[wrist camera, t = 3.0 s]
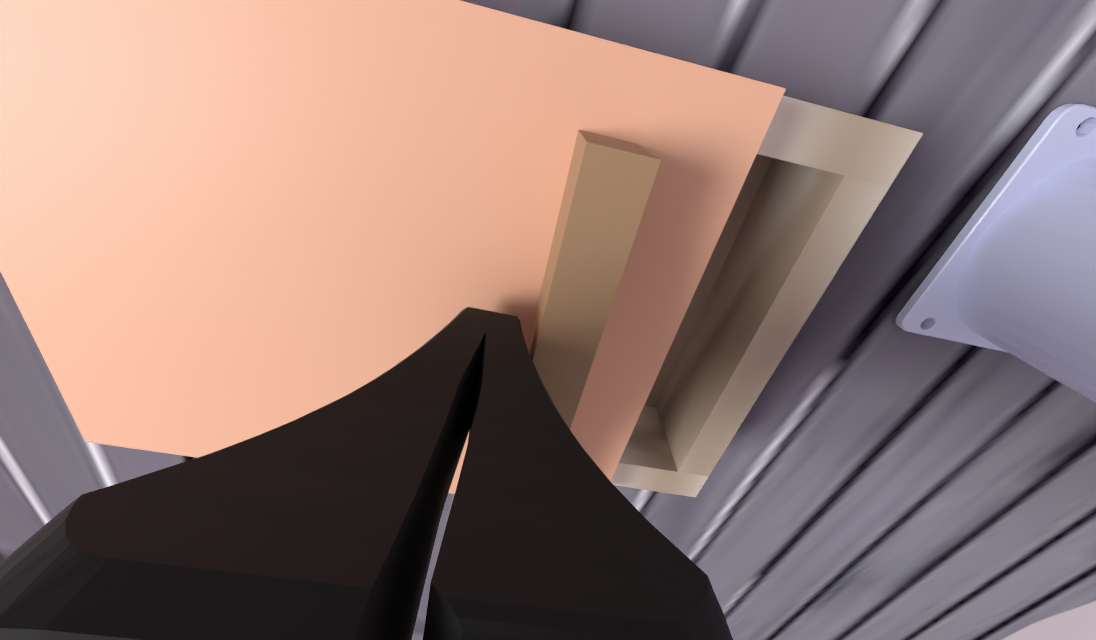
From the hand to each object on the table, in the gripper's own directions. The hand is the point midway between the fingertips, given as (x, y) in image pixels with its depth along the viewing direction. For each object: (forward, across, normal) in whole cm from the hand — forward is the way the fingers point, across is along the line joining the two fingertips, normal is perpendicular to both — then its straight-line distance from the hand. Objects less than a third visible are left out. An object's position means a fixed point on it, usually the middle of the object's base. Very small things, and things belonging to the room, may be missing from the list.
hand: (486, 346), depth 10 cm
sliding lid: (+2, +3, 0) cm, 4 cm away
